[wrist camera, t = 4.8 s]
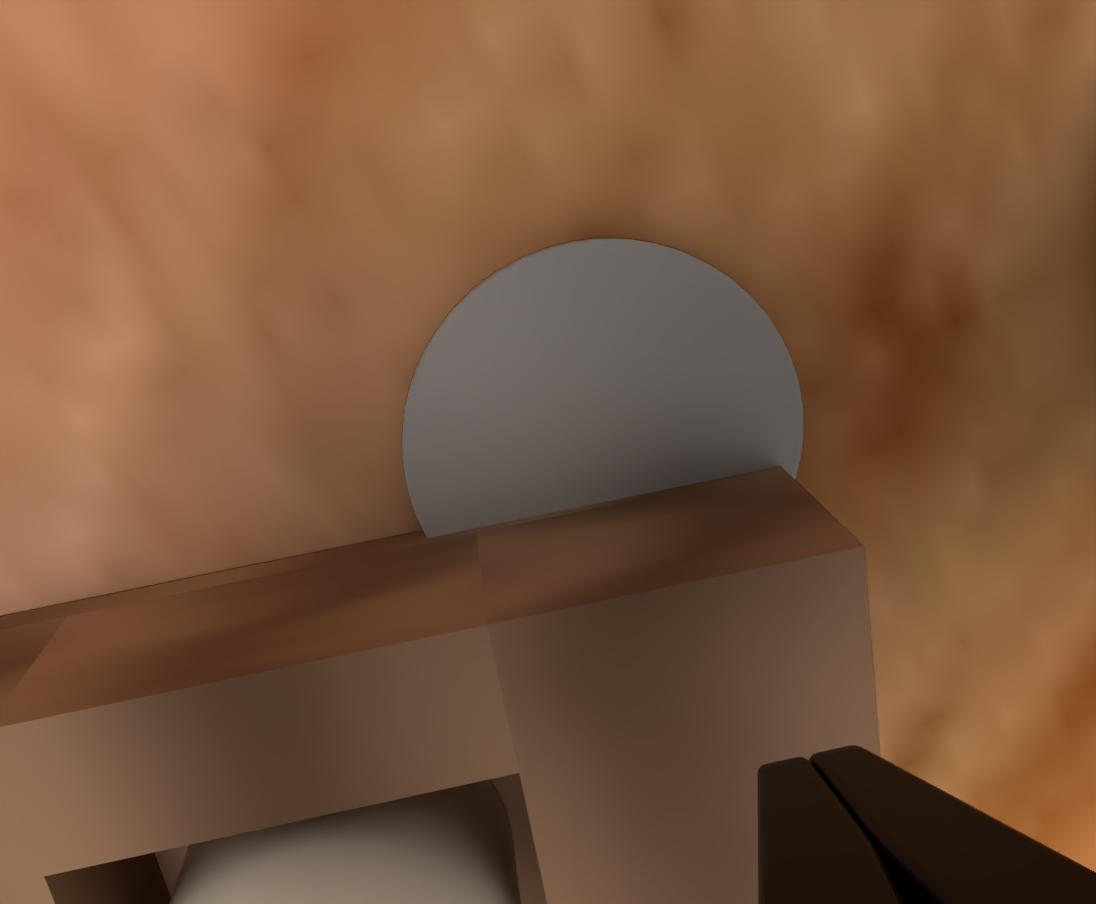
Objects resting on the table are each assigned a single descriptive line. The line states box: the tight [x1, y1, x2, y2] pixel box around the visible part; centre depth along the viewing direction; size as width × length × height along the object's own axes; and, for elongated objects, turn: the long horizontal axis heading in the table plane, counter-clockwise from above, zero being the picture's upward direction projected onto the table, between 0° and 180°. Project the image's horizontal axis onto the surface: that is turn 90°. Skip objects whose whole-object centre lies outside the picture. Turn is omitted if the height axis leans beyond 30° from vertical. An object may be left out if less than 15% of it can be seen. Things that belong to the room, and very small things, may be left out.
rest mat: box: [402, 238, 804, 538], centre depth 18 cm, size 7×7×1 cm
